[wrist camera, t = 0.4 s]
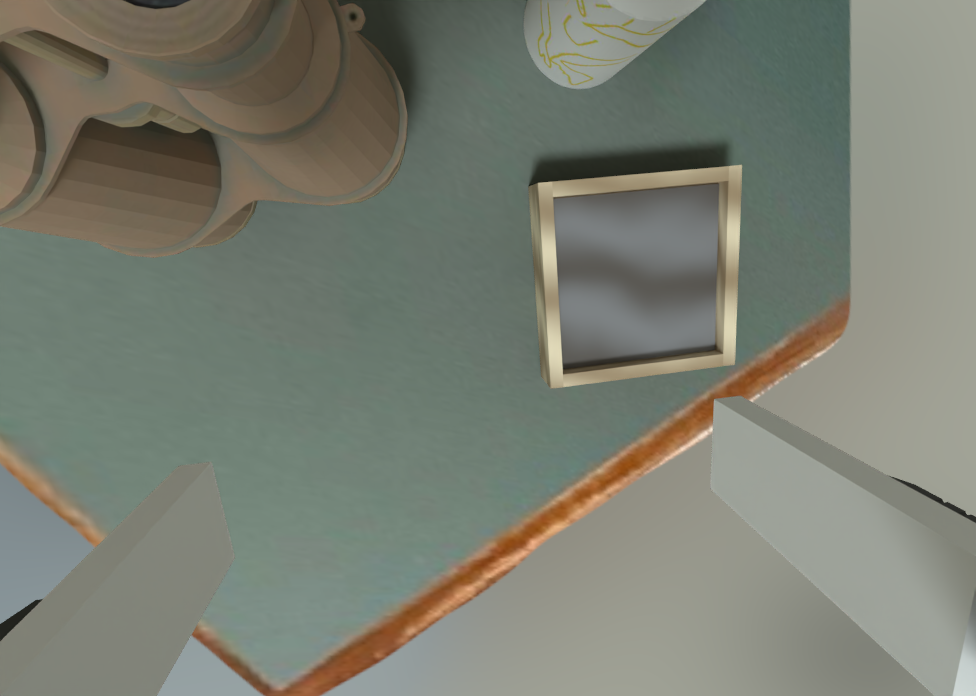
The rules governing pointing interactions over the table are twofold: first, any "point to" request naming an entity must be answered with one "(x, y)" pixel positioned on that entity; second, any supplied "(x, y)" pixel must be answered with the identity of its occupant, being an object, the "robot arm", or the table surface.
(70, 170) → the binoculars
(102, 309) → the table surface
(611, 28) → the white cylinder
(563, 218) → the square picture frame
